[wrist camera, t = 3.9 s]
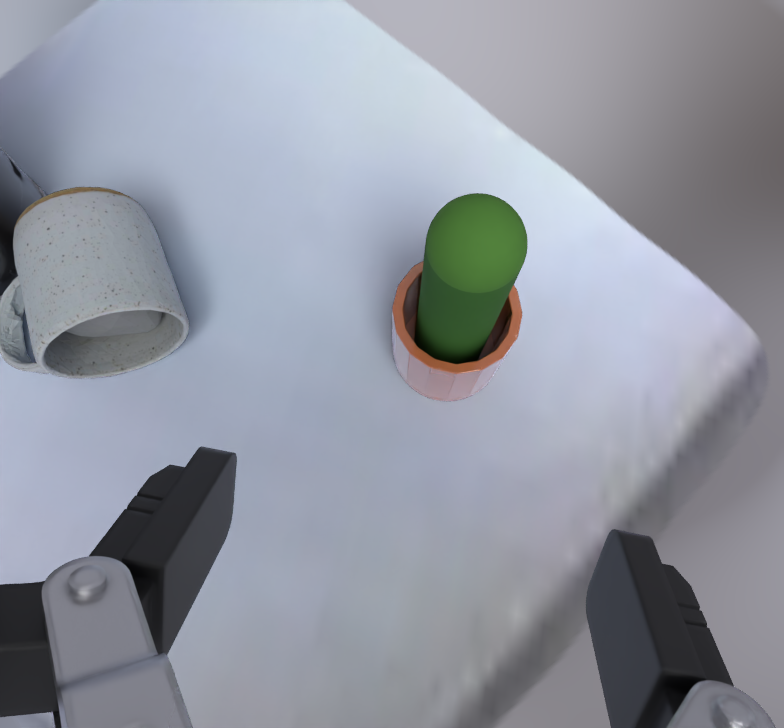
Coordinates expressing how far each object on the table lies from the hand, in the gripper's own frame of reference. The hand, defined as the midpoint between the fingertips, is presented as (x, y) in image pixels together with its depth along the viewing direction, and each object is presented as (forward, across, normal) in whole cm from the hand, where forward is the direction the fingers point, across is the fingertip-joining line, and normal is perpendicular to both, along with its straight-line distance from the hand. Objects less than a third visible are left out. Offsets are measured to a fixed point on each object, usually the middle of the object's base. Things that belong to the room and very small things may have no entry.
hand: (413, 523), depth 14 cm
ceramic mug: (+23, +19, +8) cm, 31 cm away
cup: (+24, -1, +6) cm, 25 cm away
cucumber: (+24, -1, +6) cm, 24 cm away
